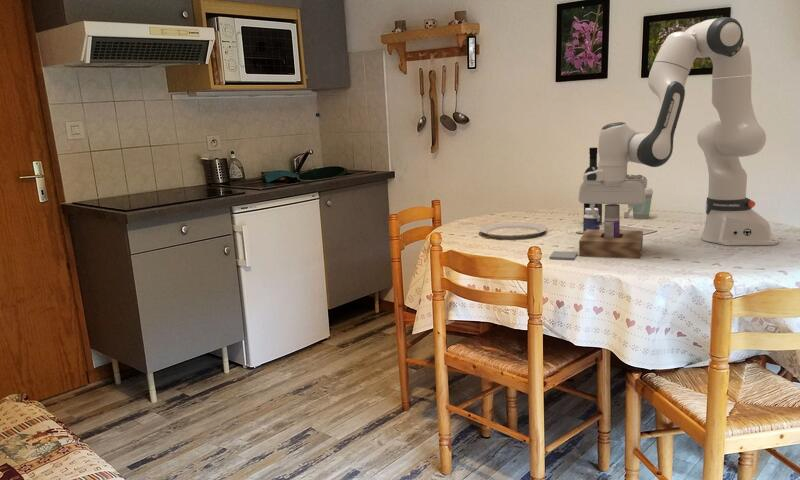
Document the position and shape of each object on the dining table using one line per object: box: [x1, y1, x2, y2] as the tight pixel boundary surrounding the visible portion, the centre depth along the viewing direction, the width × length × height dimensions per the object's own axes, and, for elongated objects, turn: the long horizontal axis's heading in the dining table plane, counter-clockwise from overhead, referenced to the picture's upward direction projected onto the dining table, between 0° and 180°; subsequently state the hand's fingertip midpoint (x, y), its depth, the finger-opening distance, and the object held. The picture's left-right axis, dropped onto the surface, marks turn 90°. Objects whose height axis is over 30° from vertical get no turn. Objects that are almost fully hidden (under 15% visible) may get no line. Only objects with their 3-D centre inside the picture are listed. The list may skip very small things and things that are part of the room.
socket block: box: [578, 229, 644, 259], centre depth 202 cm, size 18×18×5 cm
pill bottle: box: [582, 208, 601, 235], centre depth 225 cm, size 6×6×10 cm
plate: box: [478, 221, 548, 239], centre depth 239 cm, size 26×26×2 cm
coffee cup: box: [632, 186, 654, 220], centre depth 252 cm, size 8×9×12 cm
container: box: [603, 204, 621, 238], centre depth 201 cm, size 5×5×15 cm
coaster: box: [549, 250, 579, 261], centre depth 199 cm, size 8×8×1 cm
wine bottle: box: [583, 147, 603, 225], centre depth 243 cm, size 6×6×30 cm
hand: (610, 217), depth 201 cm, fingers open, 8 cm apart
